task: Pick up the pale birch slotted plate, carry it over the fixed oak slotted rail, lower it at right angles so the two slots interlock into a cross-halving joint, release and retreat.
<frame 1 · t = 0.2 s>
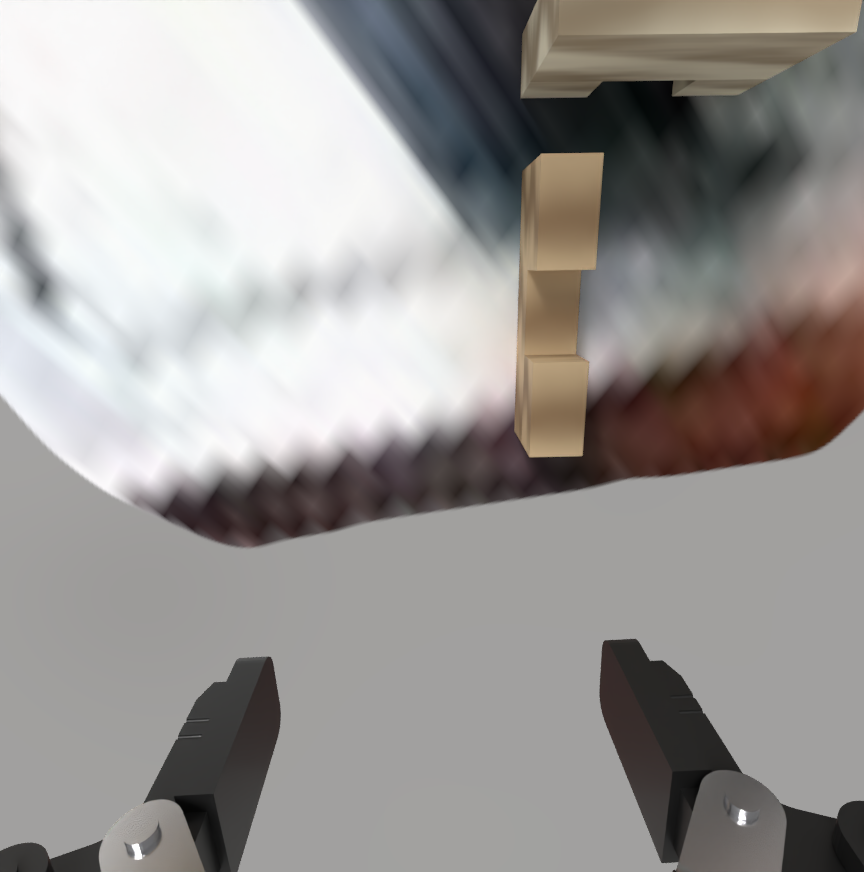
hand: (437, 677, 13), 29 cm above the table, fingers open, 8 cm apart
birch slotted plate: (631, 65, 34), on the table
oak slotted rail: (542, 309, 39), on the table
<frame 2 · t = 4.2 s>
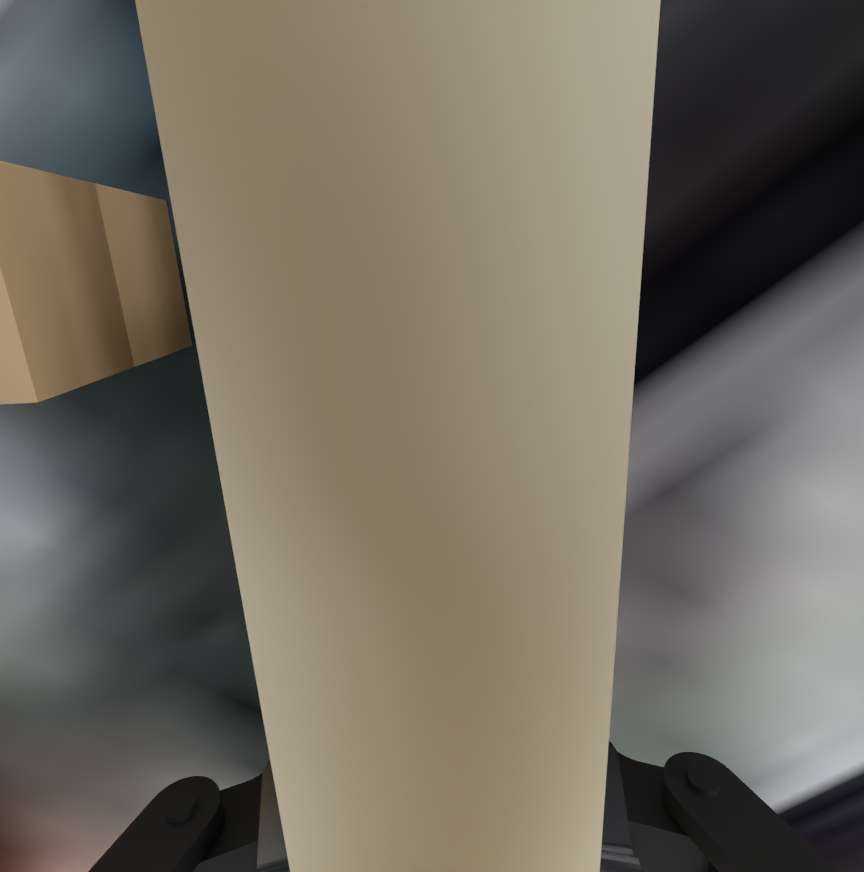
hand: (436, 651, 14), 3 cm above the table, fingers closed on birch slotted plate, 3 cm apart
birch slotted plate: (428, 452, 15), on the table, touching gripper
when the fingers open (4 cm above the table, at t = 10.3 s): birch slotted plate drops 1 cm, on the table.
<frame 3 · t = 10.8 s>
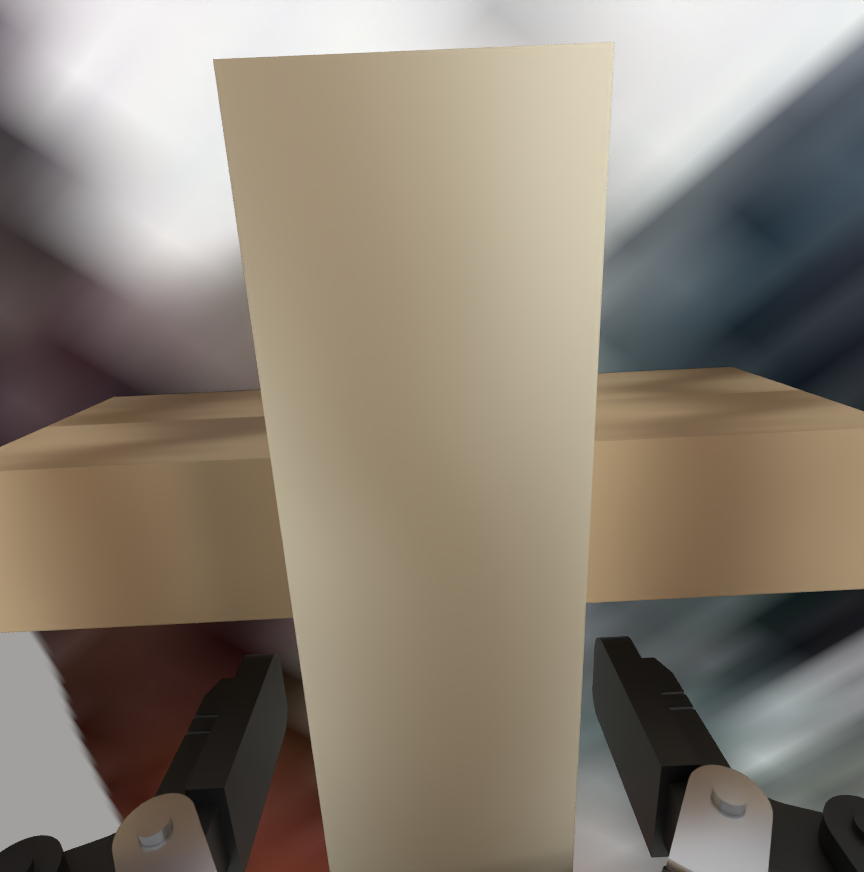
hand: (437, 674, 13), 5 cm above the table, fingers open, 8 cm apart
birch slotted plate: (429, 444, 16), on the table
oak slotted rail: (426, 439, 16), on the table
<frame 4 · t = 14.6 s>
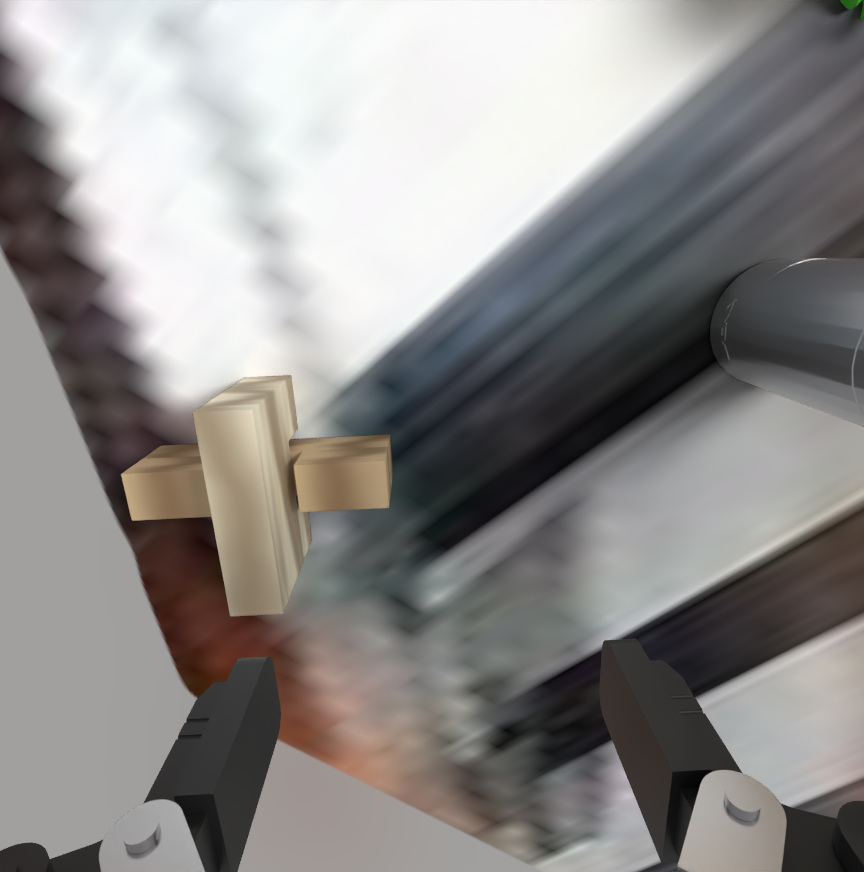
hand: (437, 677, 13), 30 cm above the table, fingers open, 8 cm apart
birch slotted plate: (280, 462, 43), on the table
oak slotted rail: (278, 460, 43), on the table
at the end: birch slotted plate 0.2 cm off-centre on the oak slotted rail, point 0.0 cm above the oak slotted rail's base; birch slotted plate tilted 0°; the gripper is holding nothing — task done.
